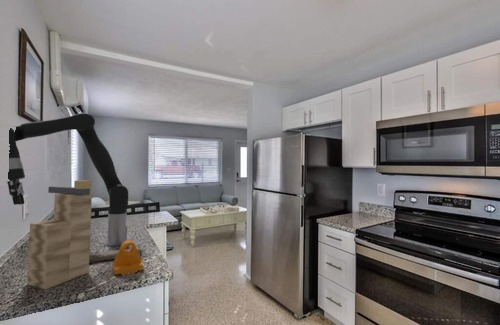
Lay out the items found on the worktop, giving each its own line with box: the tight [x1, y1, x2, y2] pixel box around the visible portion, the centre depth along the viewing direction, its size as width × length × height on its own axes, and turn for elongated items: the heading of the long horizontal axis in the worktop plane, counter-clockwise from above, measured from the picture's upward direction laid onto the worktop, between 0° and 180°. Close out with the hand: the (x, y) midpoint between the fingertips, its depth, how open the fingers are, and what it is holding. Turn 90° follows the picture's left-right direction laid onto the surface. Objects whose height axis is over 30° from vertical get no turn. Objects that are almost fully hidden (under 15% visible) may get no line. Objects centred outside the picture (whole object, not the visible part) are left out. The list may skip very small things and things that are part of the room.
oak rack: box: [26, 193, 93, 290], centre depth 98 cm, size 10×16×32 cm, turn 160°
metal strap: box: [47, 180, 92, 195], centre depth 103 cm, size 20×4×6 cm, turn 70°
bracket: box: [112, 239, 144, 276], centre depth 106 cm, size 11×7×12 cm, turn 123°
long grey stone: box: [89, 248, 143, 264], centre depth 118 cm, size 35×5×10 cm
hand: (19, 204), depth 114 cm, fingers open, 8 cm apart
